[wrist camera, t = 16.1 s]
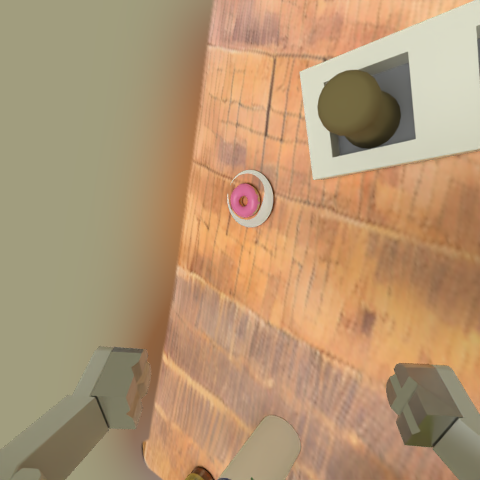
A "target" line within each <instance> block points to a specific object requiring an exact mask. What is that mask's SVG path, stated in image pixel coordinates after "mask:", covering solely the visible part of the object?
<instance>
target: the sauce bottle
mask: <svg viewBox="0 0 480 480" xmlns="http://www.w3.org/2000/svg"><path fill="white" fill-rule="evenodd" d="M185 480H213V479H212V477H211V475H210V474H209V473H208V472H207V471H206V470H204V469H203V468H199V467H198V468H195V469H194V470H193V471H192V472H191V474H189V475H188V476H187V478H186V479H185Z"/></svg>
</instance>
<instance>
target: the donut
mask: <svg viewBox="0 0 480 480" xmlns="http://www.w3.org/2000/svg"><path fill="white" fill-rule="evenodd" d="M245 173H249V174H253V175H255V176H257V177H258V178H259V179H260V180H261V181H262V183H263V185H264V189H265V195H264V198H263V202H262V205H261V207H260V210H259V212H258V214H257V215H256V217H254V218H253V219H250V220H244V219H241V218H239V217H237V216H236V215H235V214H234V213H233V211H232V210H231V208H230V205H229V202H228V207H229V210H230V213H231V215H232V217H233V218H234V219H235V220H236V221H237V222H238V223H239V224H241V225H242V226H245V227H257V226H259V225H261V224H262V223H263V222H265V220H266V219H267V218H268V216H269V215H270V213H271V210H272V206H273V191H272V188H271V185H270V183H269V181H268V180H267V178H266V177H265V176H264V175H263V174H261V173H260V172H258V171H255V170H245V171H242V172H241V173H239V174H238V175H237V176H239V175H241V174H245ZM237 176H236V177H237ZM236 177H234V179H235V178H236ZM234 179H233V180H234ZM233 180H232V181H233ZM231 183H232V182H231ZM230 185H231V184H230ZM244 196H246V197H247V199H248V203H247V205H246V206H244V205H243V203H242V199H243V197H244ZM227 201H228V196H227ZM231 206H232V209H233V210H234V212H235V213H236V214H238V215H239V216H241V217H244V218H246V217H251V216H253V215H254V214H255V213H256V212H257V211H258V209H259V206H260V196H259V193H258V191H257V190H256V189H255V188H254V187H253V186H252V185H250V184H247V183H244V184H240V185H239V186H237V187H236V188H235V189H234V191H233V192H232V195H231Z"/></svg>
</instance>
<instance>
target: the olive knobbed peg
mask: <svg viewBox="0 0 480 480" xmlns="http://www.w3.org/2000/svg"><path fill="white" fill-rule="evenodd" d="M317 109H318V116H319V118H320V120H321V122H322V124H323V126H324V127H325V128H326V129H327V130H328V131H329V132H331V133H334V134H336V135H339V136H345V137H346V139H347V140H348V141H349V142H350V143H352V144H353V145H354V146H357V147H359V148H366V149H370V148H374V147H378V146H380V145H382V144H384V143H385V142H387V141H388V140H389V139H390V138H391V137H392V136H393V135H394V134H395V132H396V130H397V128H398V126H399V123H400V119H401V112H400V106H399V104H398V102H397V101H396V99H395V98H394V97H393V96H391V95H390V94H389V93H386V92H384V91H381V89H380V87H379V85H378V83H377V81H376V80H375V78H374V77H372V76H371V75H370V74H369V73H367V72H364V71H360V70H346V71H344V72H341V73H339V74H337V75H336V76H334V77H333V78H332V79H330V80H329V81H328V82H327V84H326V85H325V86H324V88H323V89H322V91H321V94H320V96H319V99H318V106H317Z"/></svg>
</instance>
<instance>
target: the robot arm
mask: <svg viewBox="0 0 480 480" xmlns="http://www.w3.org/2000/svg"><path fill="white" fill-rule="evenodd" d="M147 358H148V353H147V350H146V349H133V348H118V347H104V346H99V347H98V348H97V349H96V350H95V352H94V354H93V356H92V358H91V360H90V361H89V364H88V365H87V367H86V369H85V371H84V373H83V375H82V377H81V379H80V381H79V383H78V385H77V387H76V389H75V391H74V393H73V395H67V396H66V397H65V398H64V399H62V400H61V401H60V402H58V403H57V404H56V405H55V406H54V407H52V408H51V409H50V410H49V411H47V412H46V413H45V414H44V415H43V416H41V417H40V418H39V419H37V420H36V421H35V422H34V423H32V424H31V425H30V426H29V427H28V428H26V429H25V430H24V431H23V432H21V433H20V434H19V435H18V436H16V437H15V438H14V439H13V440H12V441H10V442H9V443H8V444H7V445H5V446H4V447H3V448H2V449H0V480H65V479H66V478H67V477H68V476H69V475H70V474H71V472H72V471H73V470H74V469H75V468H76V467H77V466H78V465H79V464H80V462H81V461H82V460H83V459H84V458H85V457H86V456H87V455H88V453H89V452H90V451H91V450H92V449H93V448H94V447H95V445H96V444H97V443H98V442H99V441H100V440H101V439H102V438H103V436H104V435H105V434H106V433H107V432H108V431H109V429H108V428H115V429H136V428H137V425H138V421H139V418H140V415H141V412H142V408H143V407H142V402H141V399H142V398H143V397H144V396H145V395H146V394H147V392H148V388H149V385H150V378H151V366H150V364H149V363H148V362H147ZM394 371H395V375H393V376H391V377H389V379H388V382H387V387H386V393H387V398H388V401H389V404H390V407H391V408H392V409H393V410H394V411H395V412H396V413H397V414H398V417H397V421H396V423H397V426H398V429H399V431H400V434H401V437H402V439H403V442H404V445H410V446H421V447H433V450H434V451H435V453H436V454H437V455H438V456H439V457H440V458H441V459H442V461H443V462H444V463H445V464H446V465H447V466H448V468H449V469H450V470H451V471H452V472H453V473H454V474H455V476H456V477H457V478H458V479H459V480H480V414H479V413H478V411H477V409H476V408H475V406H474V404H473V403H472V401H471V399H470V398H469V396H468V394H467V393H466V391H465V389H464V388H463V386H462V384H461V383H460V381H459V379H458V378H457V376H456V375H455V373H454V371H453V370H452V369H451V368H450V367H449V366H446V365H430V364H413V363H399V364H397V365H396V366H395V368H394Z"/></svg>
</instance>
